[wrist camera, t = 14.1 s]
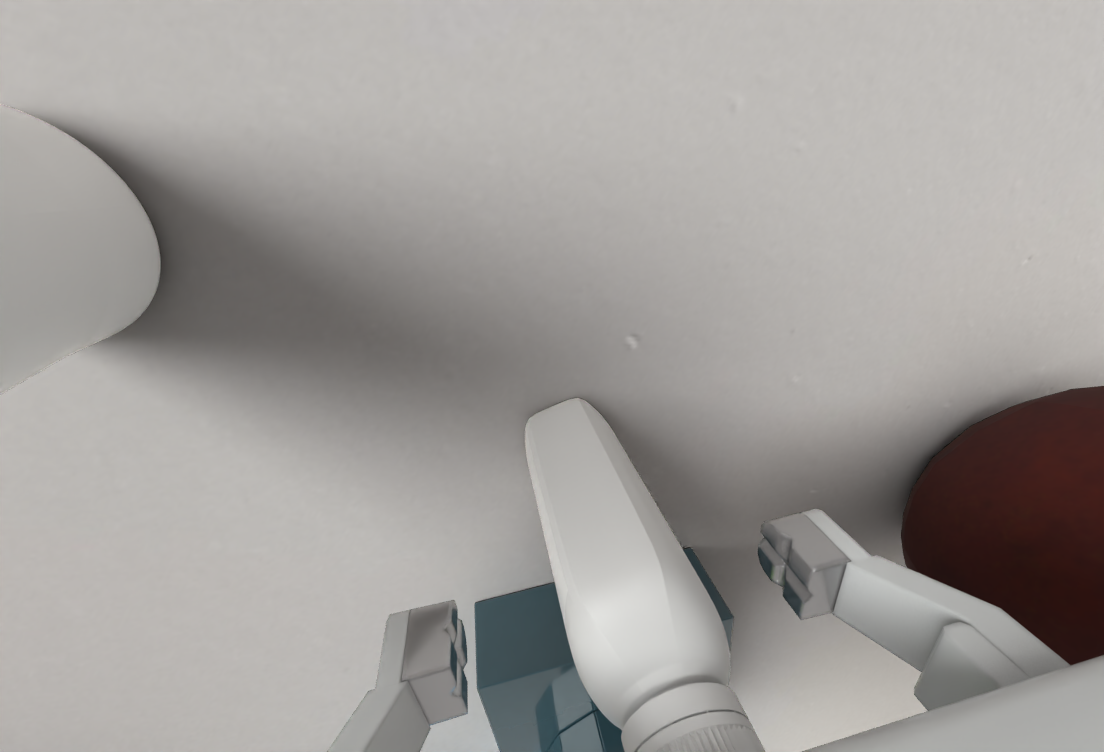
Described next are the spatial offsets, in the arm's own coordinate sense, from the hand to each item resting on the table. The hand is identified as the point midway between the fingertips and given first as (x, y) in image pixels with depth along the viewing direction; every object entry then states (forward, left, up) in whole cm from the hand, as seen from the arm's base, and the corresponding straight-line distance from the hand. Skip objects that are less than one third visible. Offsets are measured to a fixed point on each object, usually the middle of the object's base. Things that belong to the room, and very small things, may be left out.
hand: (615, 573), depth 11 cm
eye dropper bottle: (+1, 0, -6) cm, 6 cm away
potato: (+5, +18, -6) cm, 20 cm away
